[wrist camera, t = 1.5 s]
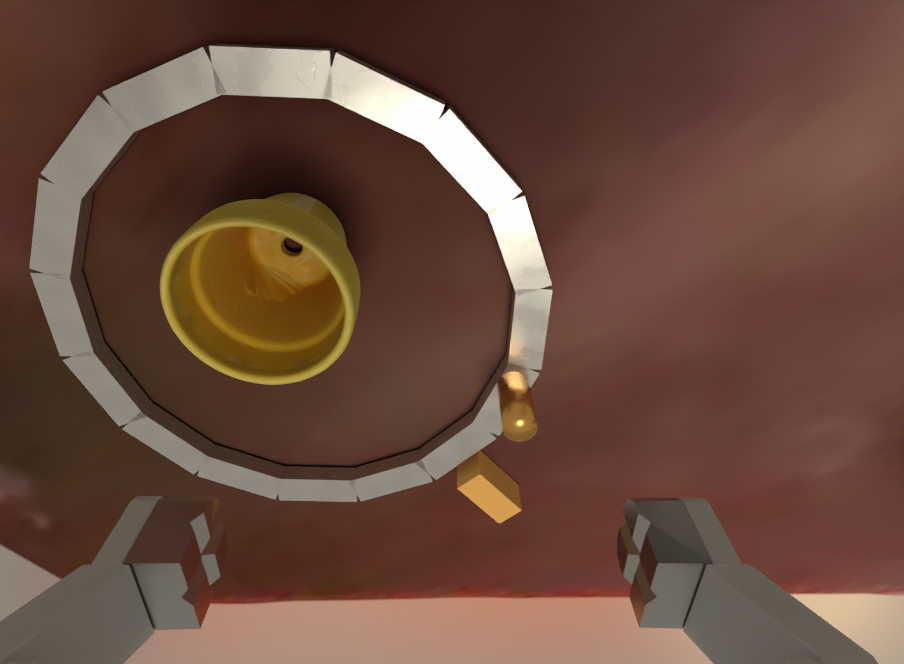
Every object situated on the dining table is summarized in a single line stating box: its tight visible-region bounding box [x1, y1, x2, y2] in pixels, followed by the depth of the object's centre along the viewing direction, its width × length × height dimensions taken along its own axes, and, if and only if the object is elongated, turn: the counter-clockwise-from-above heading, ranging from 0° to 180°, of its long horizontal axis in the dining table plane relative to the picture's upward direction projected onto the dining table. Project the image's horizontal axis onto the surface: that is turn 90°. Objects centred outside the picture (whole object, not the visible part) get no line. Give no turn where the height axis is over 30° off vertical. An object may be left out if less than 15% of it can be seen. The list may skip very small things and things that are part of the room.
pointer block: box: [457, 450, 522, 523], centre depth 50 cm, size 6×2×3 cm, turn 41°
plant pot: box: [160, 193, 360, 385], centre depth 36 cm, size 10×10×10 cm
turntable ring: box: [30, 43, 553, 502], centre depth 40 cm, size 35×35×6 cm
